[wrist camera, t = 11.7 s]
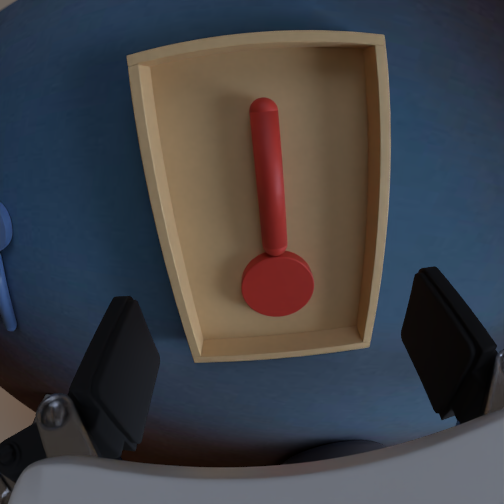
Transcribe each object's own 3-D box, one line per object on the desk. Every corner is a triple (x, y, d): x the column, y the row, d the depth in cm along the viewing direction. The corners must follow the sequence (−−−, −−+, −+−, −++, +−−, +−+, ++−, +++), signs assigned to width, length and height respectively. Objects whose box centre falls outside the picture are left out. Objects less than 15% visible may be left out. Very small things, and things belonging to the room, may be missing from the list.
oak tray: (141, 59, 14) (126, 55, 12) (368, 41, 13) (384, 34, 11) (198, 340, 23) (194, 362, 20) (361, 326, 22) (369, 347, 20)
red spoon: (218, 102, 14) (215, 102, 13) (305, 94, 14) (310, 94, 13) (245, 311, 21) (245, 325, 19) (312, 305, 20) (315, 318, 19)
